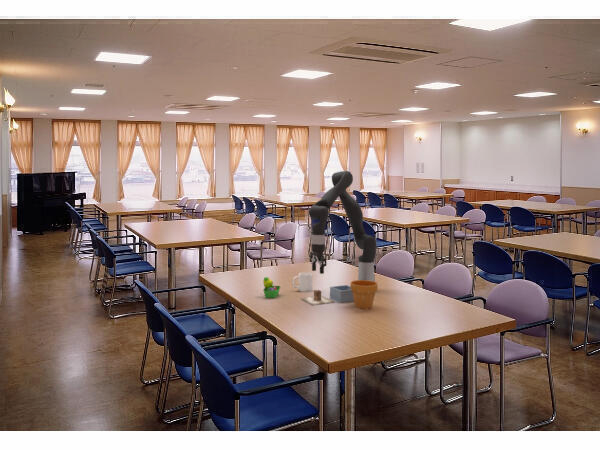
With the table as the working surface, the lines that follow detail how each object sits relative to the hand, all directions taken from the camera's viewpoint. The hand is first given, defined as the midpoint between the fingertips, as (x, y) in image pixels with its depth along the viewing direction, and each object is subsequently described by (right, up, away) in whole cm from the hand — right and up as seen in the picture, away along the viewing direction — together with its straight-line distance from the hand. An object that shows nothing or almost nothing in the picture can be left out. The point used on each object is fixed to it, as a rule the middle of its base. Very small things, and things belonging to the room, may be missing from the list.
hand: (317, 272), depth 289 cm
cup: (-8, -14, +28) cm, 32 cm away
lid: (0, -16, +2) cm, 16 cm away
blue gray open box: (+15, -16, +6) cm, 23 cm away
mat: (0, -17, +2) cm, 17 cm away
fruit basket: (-26, -15, +13) cm, 33 cm away
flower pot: (+24, -18, -7) cm, 31 cm away
